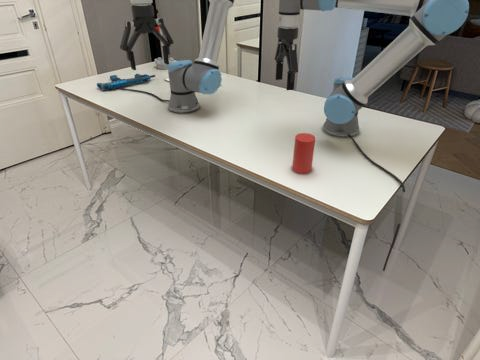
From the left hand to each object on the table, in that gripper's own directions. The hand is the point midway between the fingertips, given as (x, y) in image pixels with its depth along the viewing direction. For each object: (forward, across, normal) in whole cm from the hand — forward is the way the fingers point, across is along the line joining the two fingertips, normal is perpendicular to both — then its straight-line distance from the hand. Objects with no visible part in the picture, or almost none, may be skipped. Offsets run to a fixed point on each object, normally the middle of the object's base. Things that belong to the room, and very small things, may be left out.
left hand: (150, 66), depth 130 cm
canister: (+29, +28, -56) cm, 69 cm away
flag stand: (+29, +53, +99) cm, 116 cm away
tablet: (+29, +50, +57) cm, 81 cm away
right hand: (+8, +42, -30) cm, 53 cm away
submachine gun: (+29, +18, +82) cm, 89 cm away
